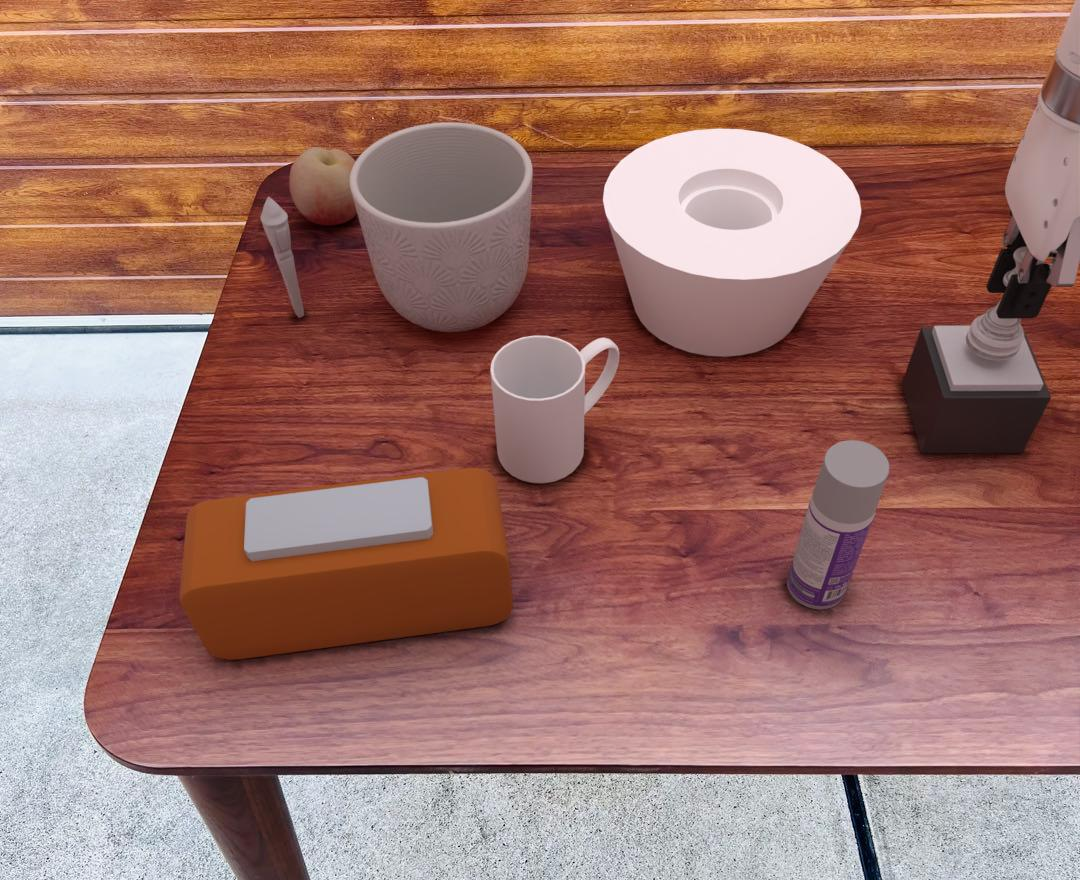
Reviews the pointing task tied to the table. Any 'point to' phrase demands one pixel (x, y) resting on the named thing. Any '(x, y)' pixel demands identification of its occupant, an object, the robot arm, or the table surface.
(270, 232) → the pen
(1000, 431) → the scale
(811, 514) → the container
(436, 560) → the alarm clock
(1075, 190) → the robot arm
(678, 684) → the table surface
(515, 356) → the mug
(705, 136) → the white tapered cylinder
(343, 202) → the fruit
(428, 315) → the planter
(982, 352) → the chess piece
